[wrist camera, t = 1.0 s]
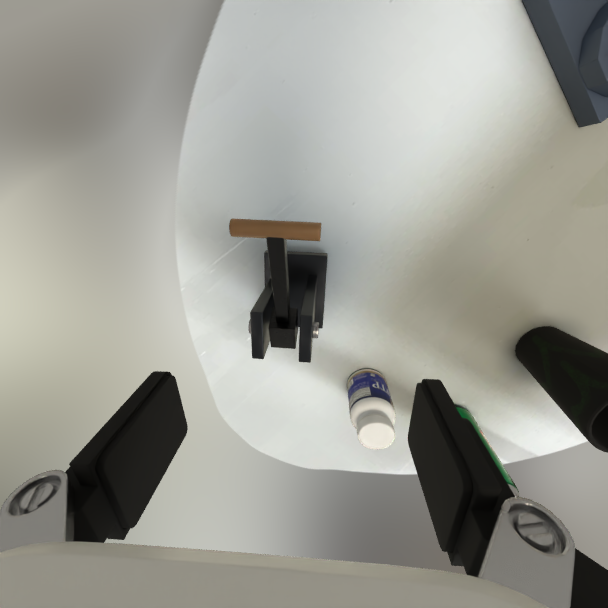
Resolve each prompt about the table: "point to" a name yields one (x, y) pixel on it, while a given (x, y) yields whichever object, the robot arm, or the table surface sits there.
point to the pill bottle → (371, 409)
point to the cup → (570, 378)
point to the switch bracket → (293, 302)
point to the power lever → (278, 269)
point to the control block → (576, 52)
